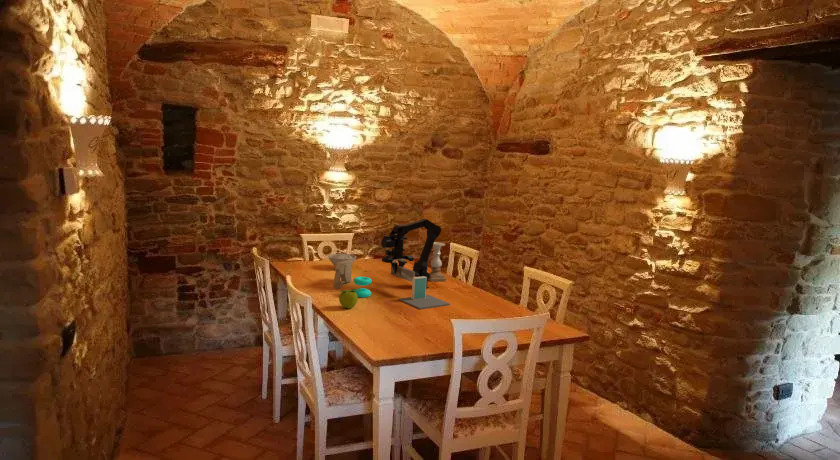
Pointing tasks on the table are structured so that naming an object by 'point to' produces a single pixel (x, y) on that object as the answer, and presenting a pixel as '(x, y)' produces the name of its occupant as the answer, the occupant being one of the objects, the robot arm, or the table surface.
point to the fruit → (348, 298)
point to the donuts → (363, 282)
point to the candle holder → (436, 264)
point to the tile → (419, 287)
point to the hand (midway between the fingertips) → (397, 273)
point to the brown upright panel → (403, 273)
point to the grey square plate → (424, 302)
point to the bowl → (341, 258)
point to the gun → (342, 273)
